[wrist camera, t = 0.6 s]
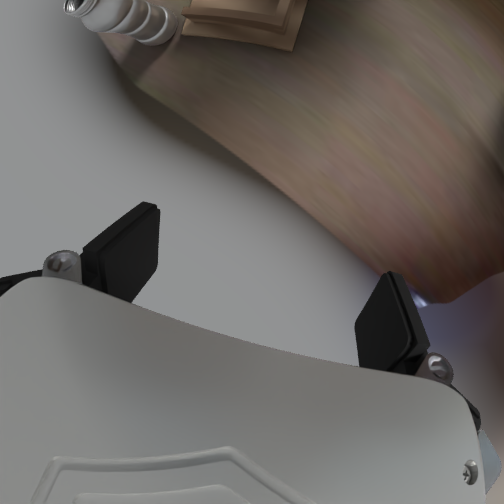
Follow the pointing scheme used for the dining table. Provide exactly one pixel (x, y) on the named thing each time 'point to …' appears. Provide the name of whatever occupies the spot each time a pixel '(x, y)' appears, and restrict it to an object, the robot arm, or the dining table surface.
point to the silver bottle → (126, 18)
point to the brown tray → (246, 21)
